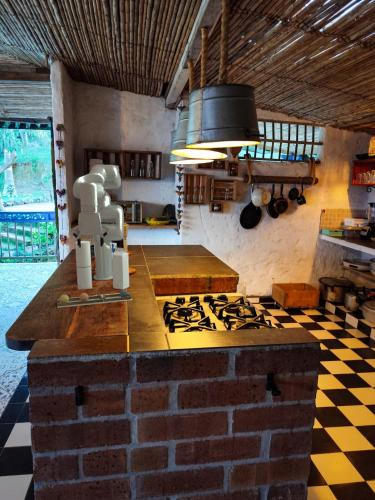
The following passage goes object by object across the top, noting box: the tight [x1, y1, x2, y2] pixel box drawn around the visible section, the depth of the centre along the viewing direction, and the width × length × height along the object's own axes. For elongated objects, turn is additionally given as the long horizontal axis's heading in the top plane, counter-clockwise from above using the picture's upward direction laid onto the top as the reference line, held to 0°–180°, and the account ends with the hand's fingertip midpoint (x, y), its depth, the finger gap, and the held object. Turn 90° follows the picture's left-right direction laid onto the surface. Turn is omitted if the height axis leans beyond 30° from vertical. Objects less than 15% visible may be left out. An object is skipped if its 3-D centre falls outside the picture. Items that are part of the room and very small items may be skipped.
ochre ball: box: [59, 294, 70, 303], centre depth 158 cm, size 4×4×4 cm
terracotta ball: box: [78, 292, 89, 301], centre depth 161 cm, size 4×4×4 cm
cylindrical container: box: [74, 240, 93, 290], centre depth 181 cm, size 7×7×25 cm
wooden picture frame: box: [56, 294, 103, 307], centre depth 160 cm, size 6×20×1 cm, turn 109°
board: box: [56, 292, 133, 309], centre depth 164 cm, size 12×33×2 cm, turn 109°
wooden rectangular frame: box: [102, 292, 132, 303], centre depth 166 cm, size 6×12×1 cm, turn 109°
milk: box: [112, 247, 130, 290], centre depth 182 cm, size 6×6×22 cm
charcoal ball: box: [119, 288, 129, 297], centre depth 166 cm, size 4×4×4 cm
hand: (90, 246), depth 163 cm, fingers open, 9 cm apart
